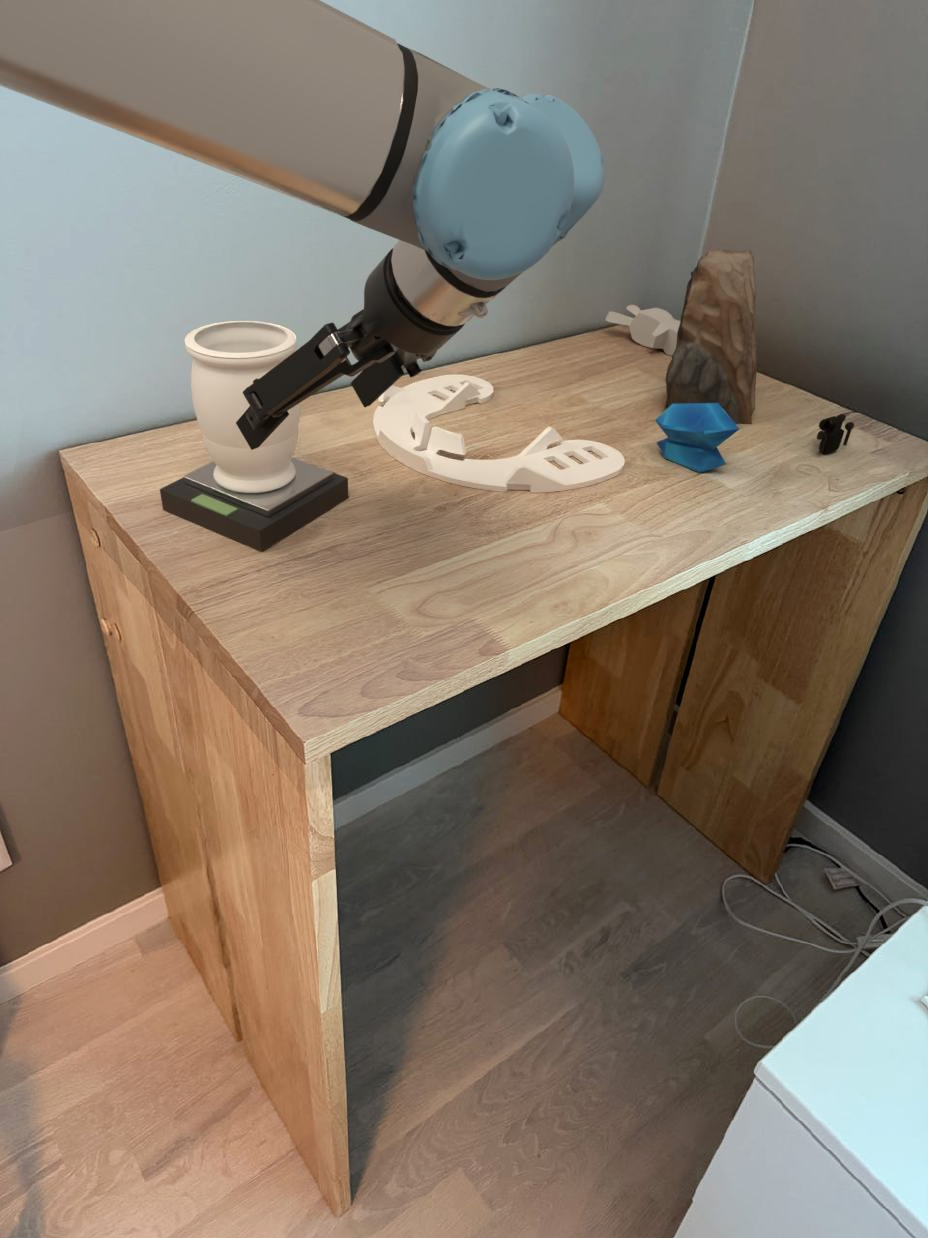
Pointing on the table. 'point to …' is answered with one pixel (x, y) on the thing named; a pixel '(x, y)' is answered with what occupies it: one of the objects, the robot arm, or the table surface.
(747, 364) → the brown rock
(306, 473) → the scale platform
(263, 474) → the jar
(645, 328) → the bunny figurine
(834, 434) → the wireless earbuds
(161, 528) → the table surface
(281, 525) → the scale
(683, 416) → the crystal
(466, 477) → the cable organizer
